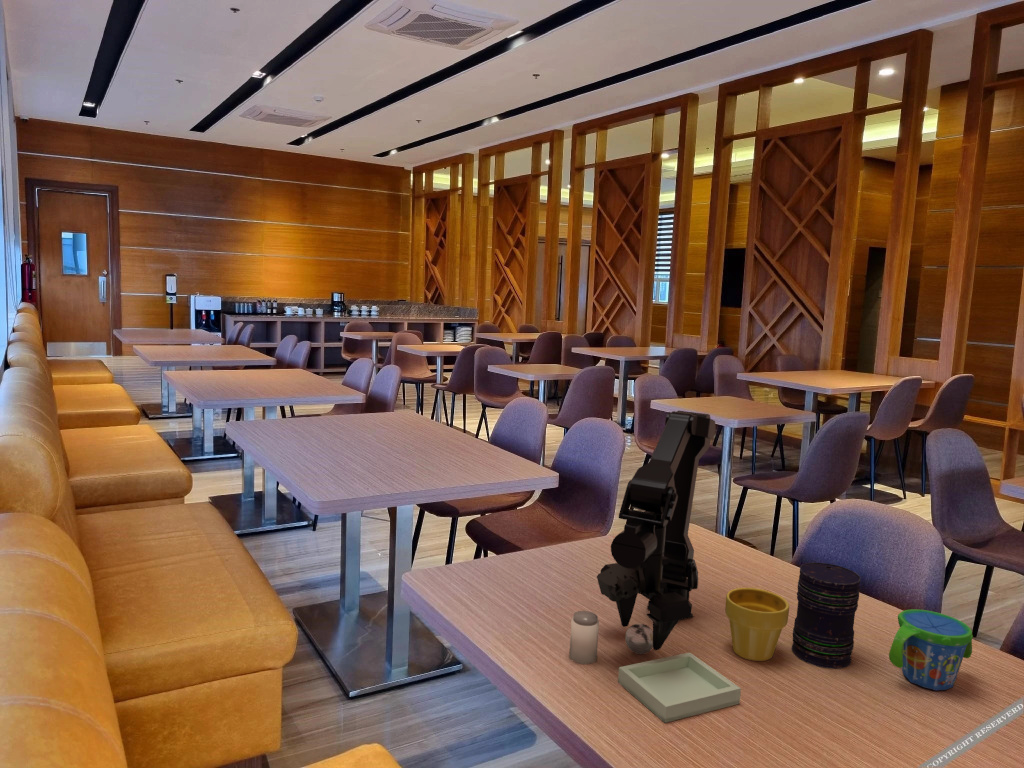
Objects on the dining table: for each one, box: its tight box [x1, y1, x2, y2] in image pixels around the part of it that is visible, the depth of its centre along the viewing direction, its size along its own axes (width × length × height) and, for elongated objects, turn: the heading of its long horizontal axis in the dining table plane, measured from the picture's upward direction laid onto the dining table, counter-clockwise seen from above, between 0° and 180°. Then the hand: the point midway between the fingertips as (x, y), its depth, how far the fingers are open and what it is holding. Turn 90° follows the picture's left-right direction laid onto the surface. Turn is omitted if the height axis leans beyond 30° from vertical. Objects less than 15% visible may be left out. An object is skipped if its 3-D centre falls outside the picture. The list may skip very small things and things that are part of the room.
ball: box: [624, 622, 653, 655], centre depth 129 cm, size 5×5×5 cm
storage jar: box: [791, 562, 861, 670], centre depth 131 cm, size 10×10×15 cm
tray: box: [617, 651, 742, 724], centre depth 117 cm, size 14×12×2 cm
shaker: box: [568, 610, 600, 665], centre depth 126 cm, size 5×5×7 cm
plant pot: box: [725, 587, 790, 662], centre depth 131 cm, size 10×10×10 cm
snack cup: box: [888, 608, 974, 691], centre depth 124 cm, size 16×11×10 cm
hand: (640, 637), depth 129 cm, fingers open, 9 cm apart
